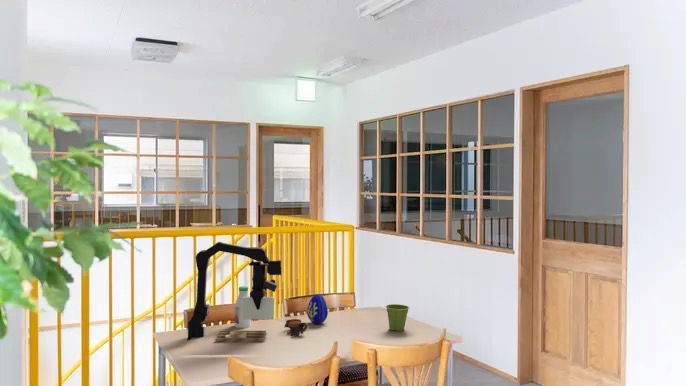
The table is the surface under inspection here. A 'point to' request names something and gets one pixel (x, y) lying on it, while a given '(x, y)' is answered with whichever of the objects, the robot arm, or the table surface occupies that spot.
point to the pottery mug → (295, 327)
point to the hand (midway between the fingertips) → (258, 309)
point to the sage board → (264, 311)
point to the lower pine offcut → (233, 337)
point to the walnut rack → (251, 337)
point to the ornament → (317, 309)
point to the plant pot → (397, 316)
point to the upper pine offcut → (238, 333)
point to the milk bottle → (241, 309)
